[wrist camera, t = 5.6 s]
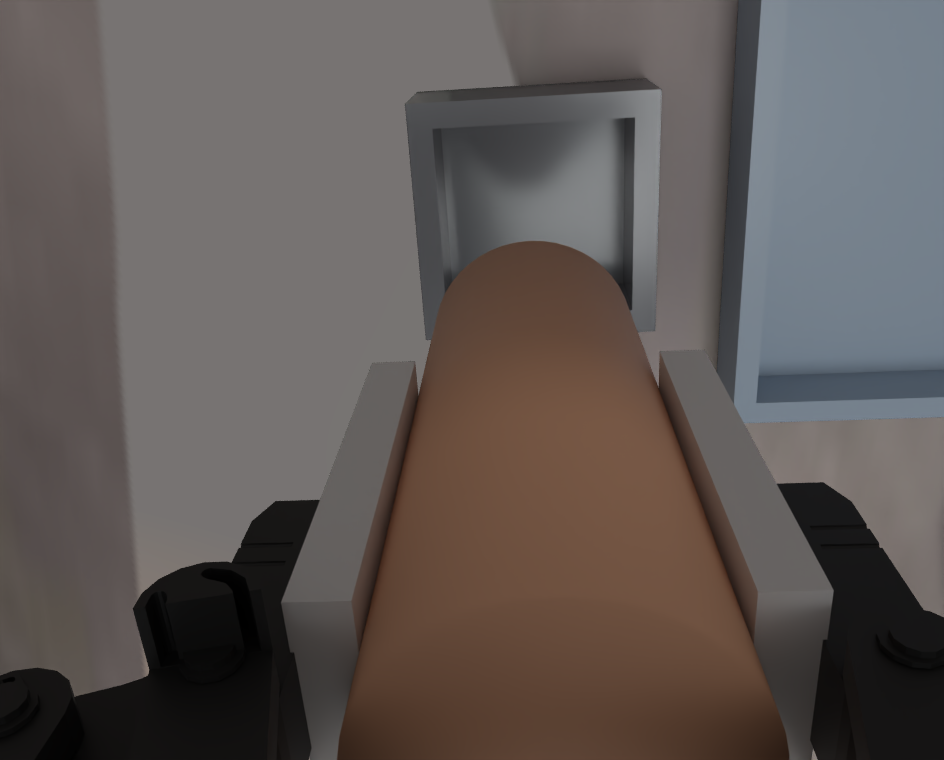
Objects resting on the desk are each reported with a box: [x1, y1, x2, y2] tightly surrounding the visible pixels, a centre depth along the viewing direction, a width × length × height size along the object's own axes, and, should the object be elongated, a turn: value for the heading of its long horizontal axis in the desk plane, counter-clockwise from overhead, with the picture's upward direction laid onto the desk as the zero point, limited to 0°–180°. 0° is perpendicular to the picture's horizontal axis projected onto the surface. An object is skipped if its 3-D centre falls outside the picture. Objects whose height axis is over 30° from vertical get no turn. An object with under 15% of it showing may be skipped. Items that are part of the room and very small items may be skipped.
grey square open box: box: [405, 78, 662, 340], centre depth 30 cm, size 8×8×4 cm
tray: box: [717, 0, 944, 423], centre depth 29 cm, size 13×18×3 cm
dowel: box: [337, 241, 789, 760], centre depth 14 cm, size 4×4×12 cm
